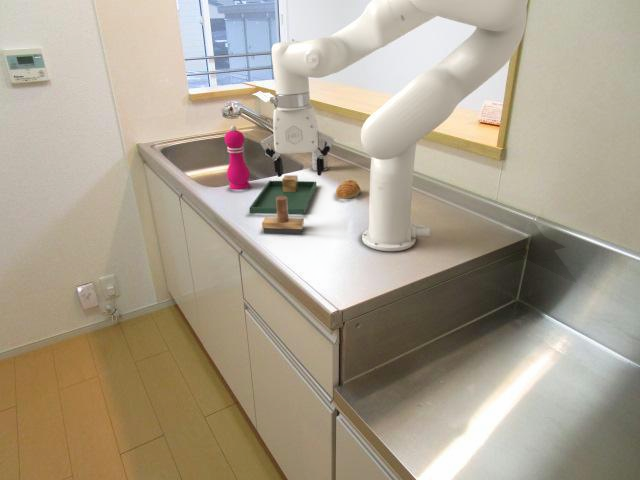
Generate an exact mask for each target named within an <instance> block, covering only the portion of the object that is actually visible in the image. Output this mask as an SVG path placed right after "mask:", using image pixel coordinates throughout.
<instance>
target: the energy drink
mask: <svg viewBox="0 0 640 480" xmlns="http://www.w3.org/2000/svg"><path fill="white" fill-rule="evenodd" d="M326 145H327V142H326V141H324V140H322V139H320V138H319V147H320V148H321V149H322V150H323V149H324V148H325V147H326ZM317 158H318V157H317V156H316V154H315V153H314V152H311V159H312V160H311V162H312V171H315V172H317ZM328 163H329V162H328V153H327V154H326V155H325V156H324V171H323V172H326V171H327V170H328V168H329V167H328V166H329V165H328Z"/></svg>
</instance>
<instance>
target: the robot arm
mask: <svg viewBox="0 0 640 480" xmlns="http://www.w3.org/2000/svg"><path fill="white" fill-rule="evenodd" d="M528 3H529V0H371V1H369V2H368V4H367V5H366V7H365V9H364V11H363V12H362V14H361V15H359V17H358V18H356V19H355V20H354V21H352V22H351V23H349V24H348V25H347V26H345V27H343V28H341V29H340V30H339V31H337V32H335V33H333V34H332V35H330V36H326V37H319V38H313V39H309V40H305V41H300V40H294V41H293V40H290V41H280V42H276V43H274V44H272V46H271V50H270V51H271V60H272V61H271V62H272V71H273V79H274V81H273V82H274V90H275V95H274V96H271V97H270V98H269V103H270V104H274V105H275V106H276V108H274V109H273V114H272V115H273V116H272V117H273V118H272V119H273V120H272V126H273V127H272V131H273V134H271V135H269V136H268V137H267V138H265V139H262V140H261V142H260V146H261V147H262V149H263V150H264V151H265V154H266V155H267V156H269V157H270V158H271V160H272V161H273V162H274V163H273V165H274V172H275V173H276V174H277V177H278V178H281V177H282V176H283V175H284V169H283V167H284V166H283V159H282V157H281V155H282V154H284V155H285V154H308V153H312V152H314V153H315V154H316V156H317V157H318V158H317V171H316V172H317V173H316V174H317V176H319V177H321V176H322V173H323V172H325V171H324V156H325V155H326V154H327V155H328V153H329V152H330V150H331V149H332V146H333V144H334V142H335V138H334V137H333V136H331V135H328V134H327V133H324V132H322V131H319V126H318V121H317V115H316V111H315V108H314V105H311V96H310V83H309V82H310V81H309V78H314V79H320V78H324V77H328V76H330V75H333V74H337V73H339V72H341V71H343V70H345V69H347V68H348V67H350V66H352V65H353V64H356V63H357V62H359V61H360V60H362V59H364V58H366V57H368V56H369V55H371V54H372V53H374V52H376V51H377V50H379V49H382V48H384V47H386V46H387V45H389V44H391V43H392V42H394V41H396V40H398V39H400V38H401V37H403V36H405V35H406V34H408V33H409V32H411V31H413V30H415V29H416V28H418V27H420V26H422V25H423V24H426V23H428V22H430V21H431V20H433V19H434V18H436V17H439V18H443V19H447V20H450V21H453V22H457V23H462V24H465V25H469V26H473V27H475V30H474V31H473V32H472V33H471V34H470V35H469V36H468V38H466V39H465V40H464V41H463V42H462V43H460V44H459V45H458V46H457V47H456V48H455V49H454V50H452V52H451V53H449V54H448V55H447V56H446V57H444V58H443V59H442V60H441V61H439V62H438V63H437V64H435V65H434V66H432V67H431V68H430V69H427V70H425V71H424V72H423V73H421V74H419V75H417V76H416V77H414V78H413V79H412V80H411V81H410V82H409V83H408V84H406V85H405V86H404V87H403V88H402V89H400V90H399V91H398V92H397V93H396V94H395V95H394V96H392V97H391V98H390V99H389V100H387V101H386V102H385V103H383V104H382V105H381V106H380V107H379V108H378V109H377V110H375V111H374V112H373V113H372V114H371V115H369V116H368V117H367V118H366V119H365V121H364V122H363V124H362V126H361V130H360V143H361V146H362V148H363V150H364V151H365V153H366V154H368V156H369V157H370V166H369V167H370V169H369V171H370V172H369V199H368V200H369V202H368V203H369V205H368V206H369V207H368V228H366V229H365V230H364V231H363V232H362V235H361V241H362V242H363V244H365V246H367V247H369V248H371V249H373V250H376V251H381V252H400V251H404V250H407V249H410V248H412V246H414V245H415V244H416V240H417V239H416V238H417V237H422V238H423V237H425V238H426V237H427V238H429V237H431V236H430V235H431V229H430V227H429V228H428V227H427V228H425V226H424V224H414V223H412V219H411V212H412V197H413V182H414V170H415V159H416V151H417V144H418V142H420V141H421V140H423V138H425V137H426V136H427V135H429V134H430V133H432V132H433V131H434V130H435V129H437V128H438V127H439V126H441V125H442V124H443V123H444V122H446V120H448V119H449V118H450V117H451V115H452V114H453V113H454V111H455V109H456V107H457V106H458V105H459V104H460V103H461V102H462V101H463V100H465V99H466V98H467V97H468V96H470V95H471V94H472V93H474V92H475V91H476V90H478V89H479V88H480V87H481V86H482V85H483V84H485V83H486V82H487V81H488V80H489V79H491V78H492V77H493V76H494V75H496V74H497V73H498V72H499V71H500V70H501V69H502V68H504V67H505V65H506V64H507V63H509V61H510V60H511V58H512V57H513V56H514V55H515V53H516V52H517V49H518V48H519V46H520V43H521V42H522V40H523V37H524V34H525V31H526V26H527V17H528ZM319 138H320V139H322V140H324V141H326V142H327V145H326V147H325V148H324V149H323V150H322V149H321V148H320V147H319ZM270 143H273V147H274V149H273V148H271V147H270Z"/></svg>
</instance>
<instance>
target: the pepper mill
mask: <svg viewBox="0 0 640 480" xmlns="http://www.w3.org/2000/svg"><path fill="white" fill-rule="evenodd" d="M224 143H225V145H226V146H227V147H226V149H227V153H228V154H229V164H228V168H227V171H226V179H227V180H228V181H229V183H228V184H229V189H231V190H236V191H237V190H238V191H239V190H245V189H248V188H250V182H249V180H250V178H251V173H250V170H249V168H248V166H247V164H246V162H245V159H244V153H243V152H244V151H245V149H244V146H243V145H244V144H245V135H244V134H243V133H242V132H241V131H240V130H237V127H236V125H233V124H232V125H230V130H229V131H228V132H226V133H225V135H224Z"/></svg>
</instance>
